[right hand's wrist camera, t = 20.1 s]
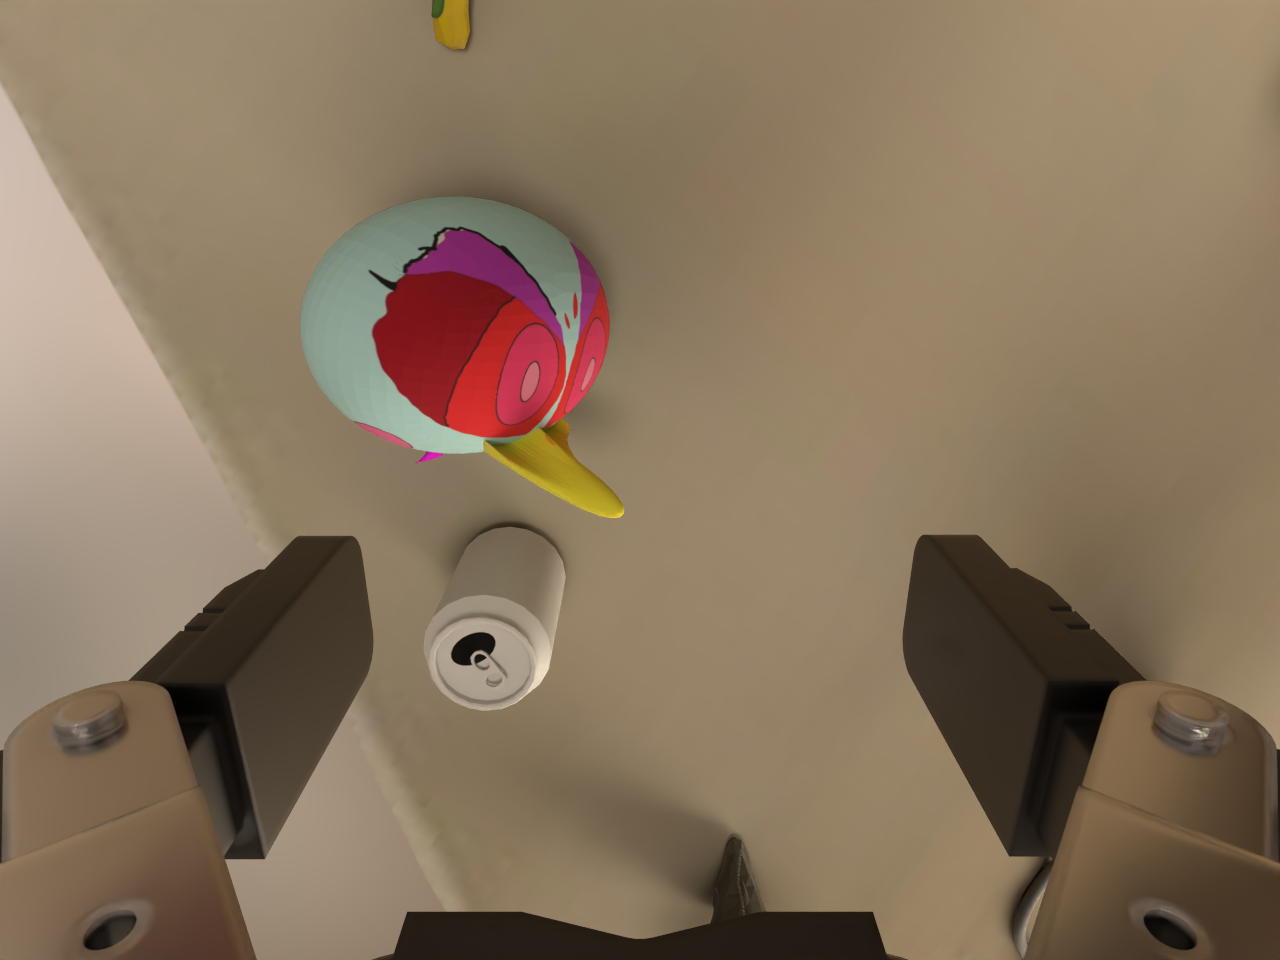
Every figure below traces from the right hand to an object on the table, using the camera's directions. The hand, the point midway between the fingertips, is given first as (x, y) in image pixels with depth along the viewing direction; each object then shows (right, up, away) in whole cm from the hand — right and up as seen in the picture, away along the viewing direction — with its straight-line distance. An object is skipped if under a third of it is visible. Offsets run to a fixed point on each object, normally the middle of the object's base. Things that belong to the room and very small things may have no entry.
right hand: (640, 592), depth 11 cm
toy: (-8, +11, +38) cm, 40 cm away
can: (-9, -5, +44) cm, 45 cm away
